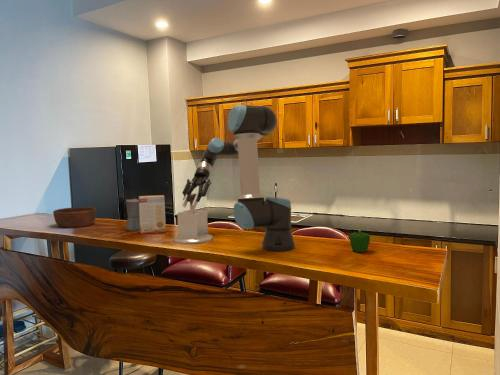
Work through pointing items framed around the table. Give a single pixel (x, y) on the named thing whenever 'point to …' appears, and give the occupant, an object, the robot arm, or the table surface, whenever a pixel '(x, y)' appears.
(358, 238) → the bell pepper
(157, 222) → the cracker box
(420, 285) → the table surface
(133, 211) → the moka pot
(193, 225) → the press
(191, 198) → the plunger
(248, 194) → the robot arm
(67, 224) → the wooden bowl
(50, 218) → the table surface
